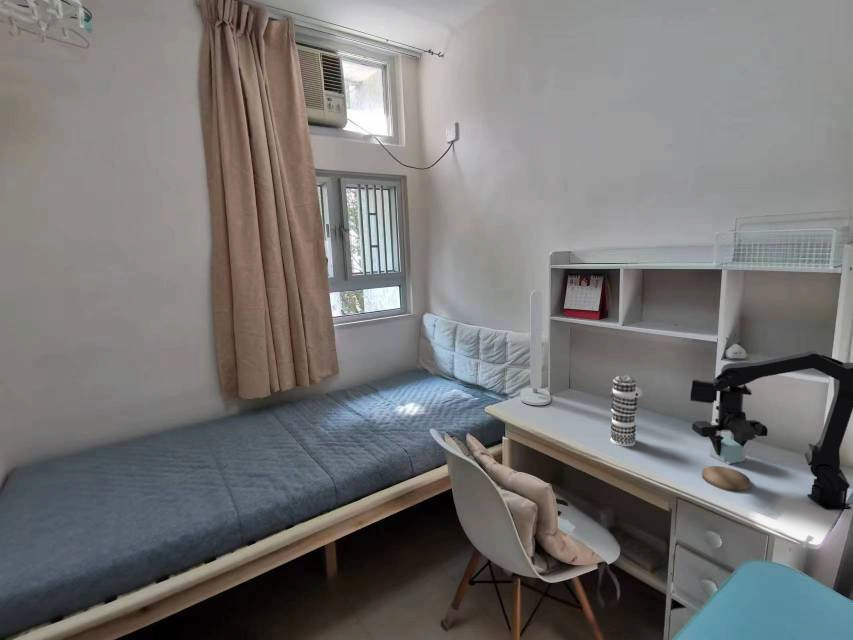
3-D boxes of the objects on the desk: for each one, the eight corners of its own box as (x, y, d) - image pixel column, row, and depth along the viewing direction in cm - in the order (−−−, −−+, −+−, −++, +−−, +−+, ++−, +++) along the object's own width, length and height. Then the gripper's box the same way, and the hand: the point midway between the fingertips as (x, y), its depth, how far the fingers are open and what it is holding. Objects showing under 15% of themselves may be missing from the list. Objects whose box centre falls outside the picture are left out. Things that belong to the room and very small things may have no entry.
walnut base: (733, 470, 135) (733, 465, 135) (759, 491, 124) (760, 486, 123) (694, 470, 136) (694, 466, 136) (716, 491, 124) (717, 486, 124)
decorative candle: (617, 433, 165) (619, 372, 161) (641, 441, 158) (643, 377, 154) (604, 440, 160) (605, 377, 156) (628, 449, 153) (630, 382, 149)
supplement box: (729, 465, 139) (731, 428, 137) (708, 455, 146) (710, 420, 144) (746, 461, 141) (748, 425, 139) (724, 451, 148) (727, 417, 146)
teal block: (730, 454, 131) (731, 438, 130) (741, 461, 126) (742, 446, 125) (713, 454, 131) (714, 439, 130) (723, 462, 126) (724, 446, 126)
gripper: (714, 417, 119) (711, 468, 121) (784, 415, 117) (779, 467, 120) (692, 403, 130) (690, 450, 132) (756, 401, 128) (752, 449, 131)
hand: (727, 454), depth 129 cm, fingers closed on teal block, 5 cm apart
